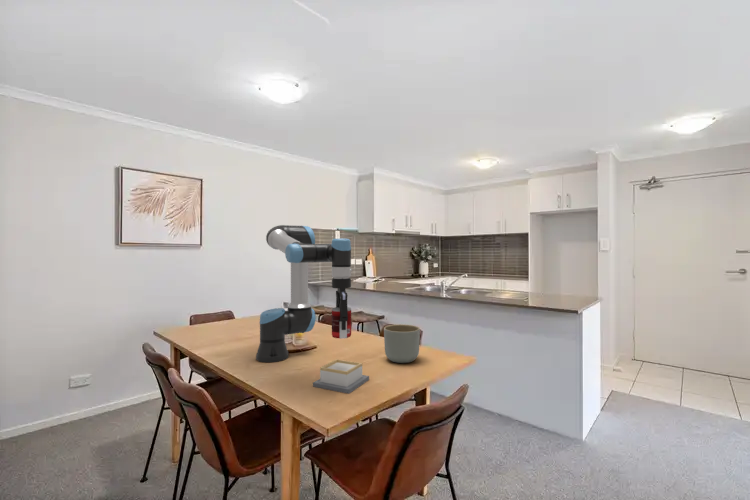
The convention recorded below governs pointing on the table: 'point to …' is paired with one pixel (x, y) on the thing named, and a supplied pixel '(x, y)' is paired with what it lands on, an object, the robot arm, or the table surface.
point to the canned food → (337, 324)
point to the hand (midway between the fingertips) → (341, 335)
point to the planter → (401, 342)
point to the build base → (341, 376)
